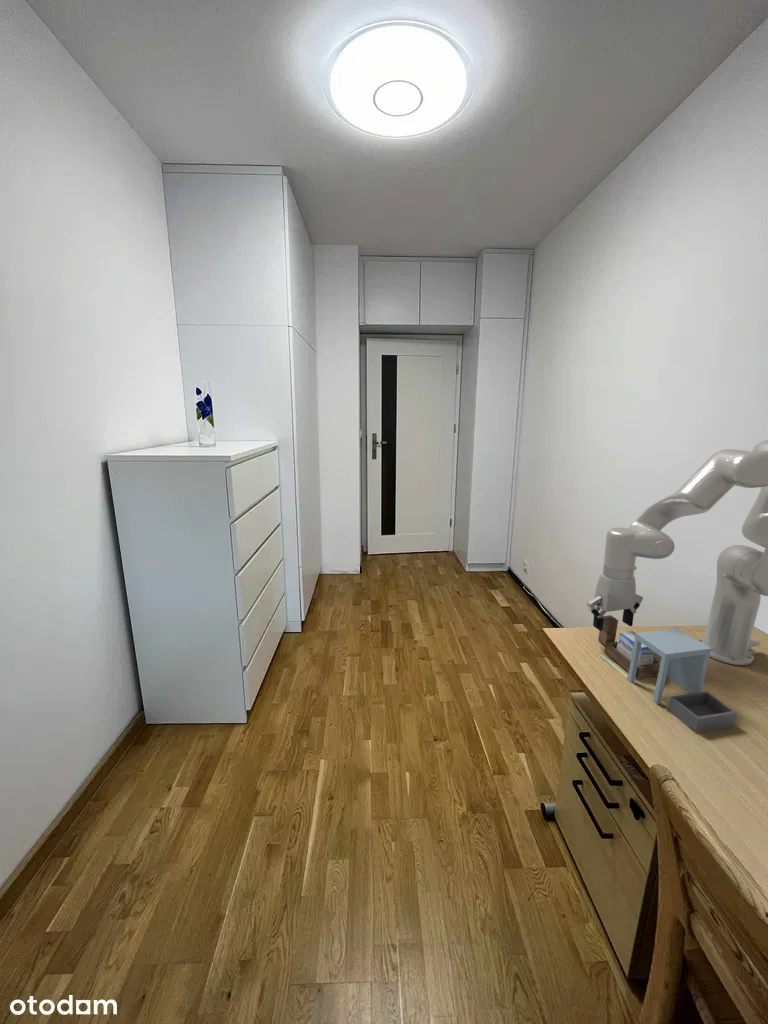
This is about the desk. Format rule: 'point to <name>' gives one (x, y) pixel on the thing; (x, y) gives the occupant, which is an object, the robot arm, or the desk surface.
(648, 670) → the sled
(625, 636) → the medicine box
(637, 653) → the tunnel
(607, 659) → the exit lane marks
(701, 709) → the tray
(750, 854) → the desk surface
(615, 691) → the desk surface
